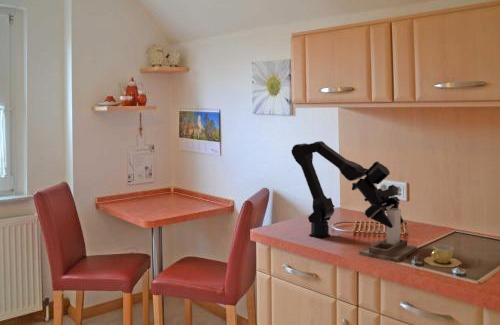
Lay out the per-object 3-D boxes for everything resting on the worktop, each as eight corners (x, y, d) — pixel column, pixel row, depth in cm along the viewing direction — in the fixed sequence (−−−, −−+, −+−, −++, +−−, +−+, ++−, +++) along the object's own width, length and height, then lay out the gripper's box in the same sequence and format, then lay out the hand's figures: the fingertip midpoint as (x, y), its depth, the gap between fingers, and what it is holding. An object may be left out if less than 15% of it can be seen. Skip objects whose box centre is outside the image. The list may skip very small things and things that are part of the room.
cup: (441, 255, 182) (442, 240, 182) (469, 265, 172) (470, 249, 171) (416, 260, 177) (416, 245, 176) (443, 270, 166) (444, 254, 166)
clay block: (386, 247, 188) (387, 210, 186) (392, 244, 191) (393, 207, 190) (394, 248, 186) (395, 211, 184) (399, 245, 190) (400, 208, 188)
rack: (359, 254, 183) (359, 245, 183) (381, 243, 197) (381, 235, 197) (396, 262, 174) (396, 253, 174) (416, 250, 188) (417, 241, 188)
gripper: (373, 181, 181) (402, 216, 175) (395, 175, 195) (422, 207, 190) (353, 200, 187) (380, 235, 181) (375, 193, 201) (401, 224, 196)
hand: (397, 224), depth 187 cm, fingers open, 9 cm apart
